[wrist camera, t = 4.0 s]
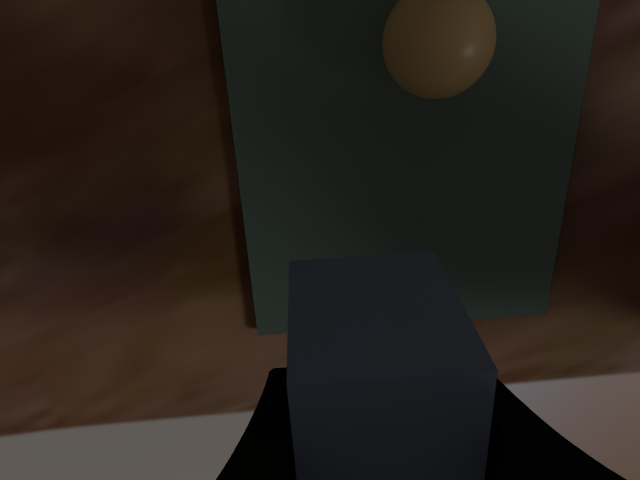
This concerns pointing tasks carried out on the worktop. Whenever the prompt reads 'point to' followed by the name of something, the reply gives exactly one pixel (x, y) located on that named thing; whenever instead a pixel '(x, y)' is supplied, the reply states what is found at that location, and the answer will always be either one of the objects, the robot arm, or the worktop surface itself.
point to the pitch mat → (403, 148)
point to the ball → (438, 45)
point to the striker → (385, 372)
